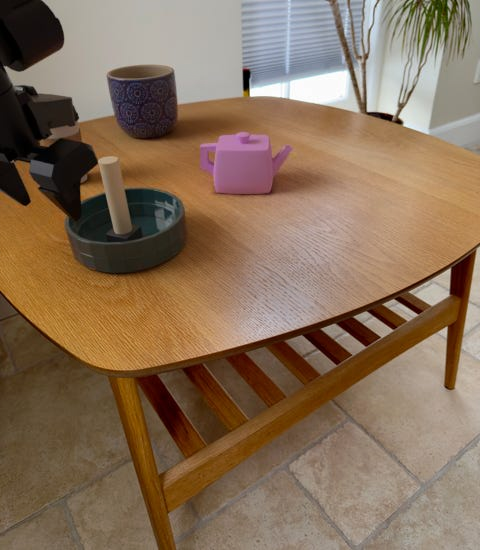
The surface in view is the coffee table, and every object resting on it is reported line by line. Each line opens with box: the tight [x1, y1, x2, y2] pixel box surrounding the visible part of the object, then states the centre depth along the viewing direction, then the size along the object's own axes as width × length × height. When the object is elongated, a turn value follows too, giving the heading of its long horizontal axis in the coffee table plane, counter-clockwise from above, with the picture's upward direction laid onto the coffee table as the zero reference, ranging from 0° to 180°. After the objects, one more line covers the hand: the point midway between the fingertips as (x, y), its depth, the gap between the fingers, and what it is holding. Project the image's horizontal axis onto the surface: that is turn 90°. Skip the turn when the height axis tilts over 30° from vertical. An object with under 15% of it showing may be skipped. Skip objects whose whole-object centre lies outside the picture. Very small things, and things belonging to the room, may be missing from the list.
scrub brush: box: [98, 155, 143, 242], centre depth 65 cm, size 4×4×14 cm
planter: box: [106, 64, 179, 139], centre depth 110 cm, size 16×16×15 cm
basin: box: [64, 186, 188, 274], centre depth 69 cm, size 18×18×6 cm
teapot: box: [199, 131, 294, 195], centre depth 85 cm, size 18×10×10 cm, turn 86°
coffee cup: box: [41, 104, 88, 184], centre depth 87 cm, size 8×8×15 cm
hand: (52, 211), depth 55 cm, fingers open, 9 cm apart
